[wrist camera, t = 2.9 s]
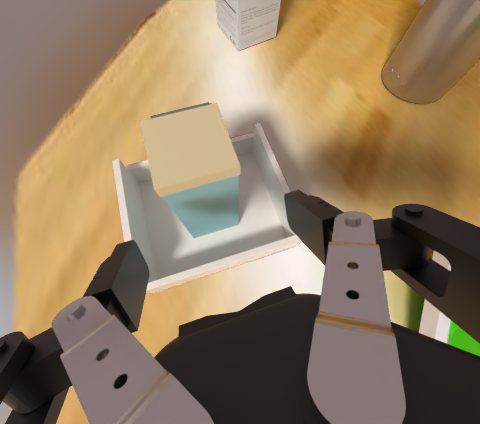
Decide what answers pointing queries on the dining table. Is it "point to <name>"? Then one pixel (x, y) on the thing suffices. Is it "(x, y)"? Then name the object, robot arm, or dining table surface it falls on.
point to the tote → (214, 244)
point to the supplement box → (248, 20)
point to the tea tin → (194, 167)
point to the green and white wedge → (445, 322)
